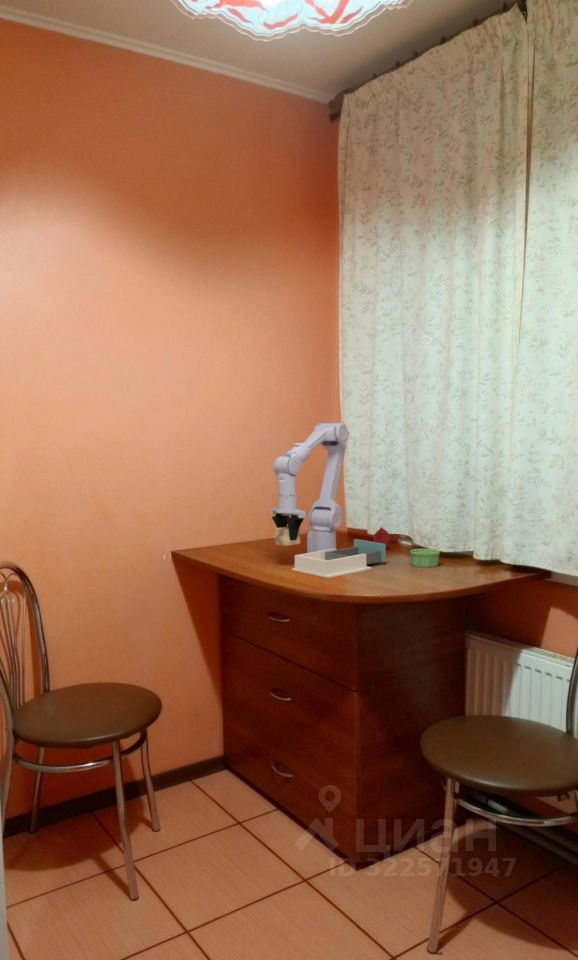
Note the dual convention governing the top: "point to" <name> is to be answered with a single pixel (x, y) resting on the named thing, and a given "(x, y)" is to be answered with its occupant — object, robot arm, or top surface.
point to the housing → (329, 564)
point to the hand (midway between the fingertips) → (288, 539)
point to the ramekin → (424, 557)
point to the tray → (361, 551)
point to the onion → (382, 537)
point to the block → (285, 537)
